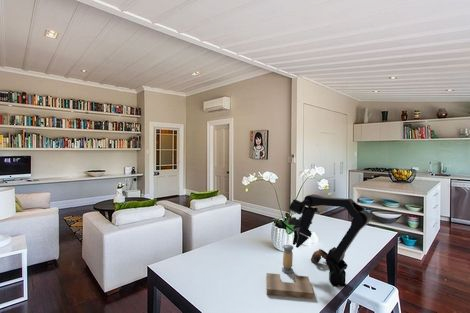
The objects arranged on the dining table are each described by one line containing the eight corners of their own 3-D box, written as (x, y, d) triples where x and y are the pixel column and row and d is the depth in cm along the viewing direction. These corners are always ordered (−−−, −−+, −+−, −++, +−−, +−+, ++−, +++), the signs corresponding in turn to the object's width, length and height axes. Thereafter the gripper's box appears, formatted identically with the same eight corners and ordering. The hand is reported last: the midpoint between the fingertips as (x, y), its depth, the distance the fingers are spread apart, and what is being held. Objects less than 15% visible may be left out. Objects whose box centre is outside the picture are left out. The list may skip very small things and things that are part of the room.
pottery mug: (312, 258, 147) (320, 246, 146) (326, 270, 142) (334, 258, 140) (305, 259, 138) (313, 247, 137) (319, 272, 132) (328, 260, 131)
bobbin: (292, 268, 132) (292, 244, 132) (293, 274, 127) (294, 249, 126) (281, 268, 133) (282, 244, 133) (282, 273, 127) (283, 248, 127)
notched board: (308, 281, 120) (308, 276, 120) (313, 298, 106) (313, 293, 106) (266, 278, 122) (266, 273, 122) (266, 294, 108) (266, 289, 108)
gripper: (289, 210, 139) (278, 236, 137) (295, 211, 121) (282, 241, 119) (308, 219, 138) (297, 245, 135) (317, 221, 120) (304, 252, 117)
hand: (295, 246), depth 127 cm, fingers open, 9 cm apart
